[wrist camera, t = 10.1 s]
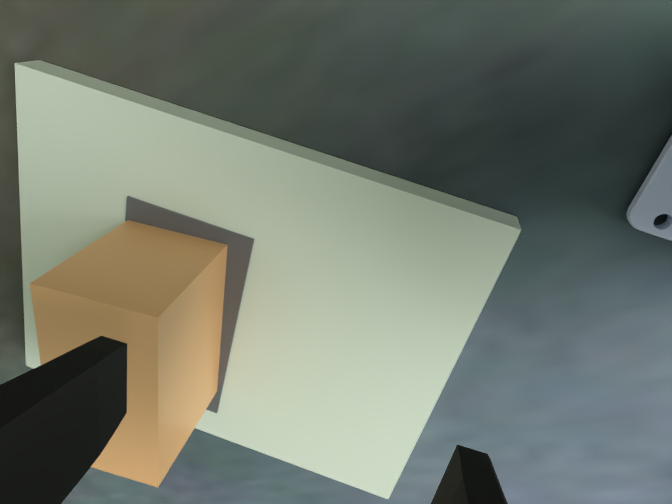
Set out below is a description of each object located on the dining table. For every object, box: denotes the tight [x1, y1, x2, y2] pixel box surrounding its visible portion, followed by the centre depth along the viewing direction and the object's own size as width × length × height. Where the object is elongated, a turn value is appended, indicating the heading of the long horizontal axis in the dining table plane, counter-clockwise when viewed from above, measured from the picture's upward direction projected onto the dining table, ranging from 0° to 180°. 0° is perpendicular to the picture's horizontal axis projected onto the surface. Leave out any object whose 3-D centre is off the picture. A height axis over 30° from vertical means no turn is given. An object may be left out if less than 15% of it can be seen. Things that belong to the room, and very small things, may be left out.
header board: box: [15, 60, 521, 499], centre depth 19 cm, size 18×14×4 cm
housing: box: [30, 220, 228, 487], centre depth 18 cm, size 4×7×5 cm, turn 171°
